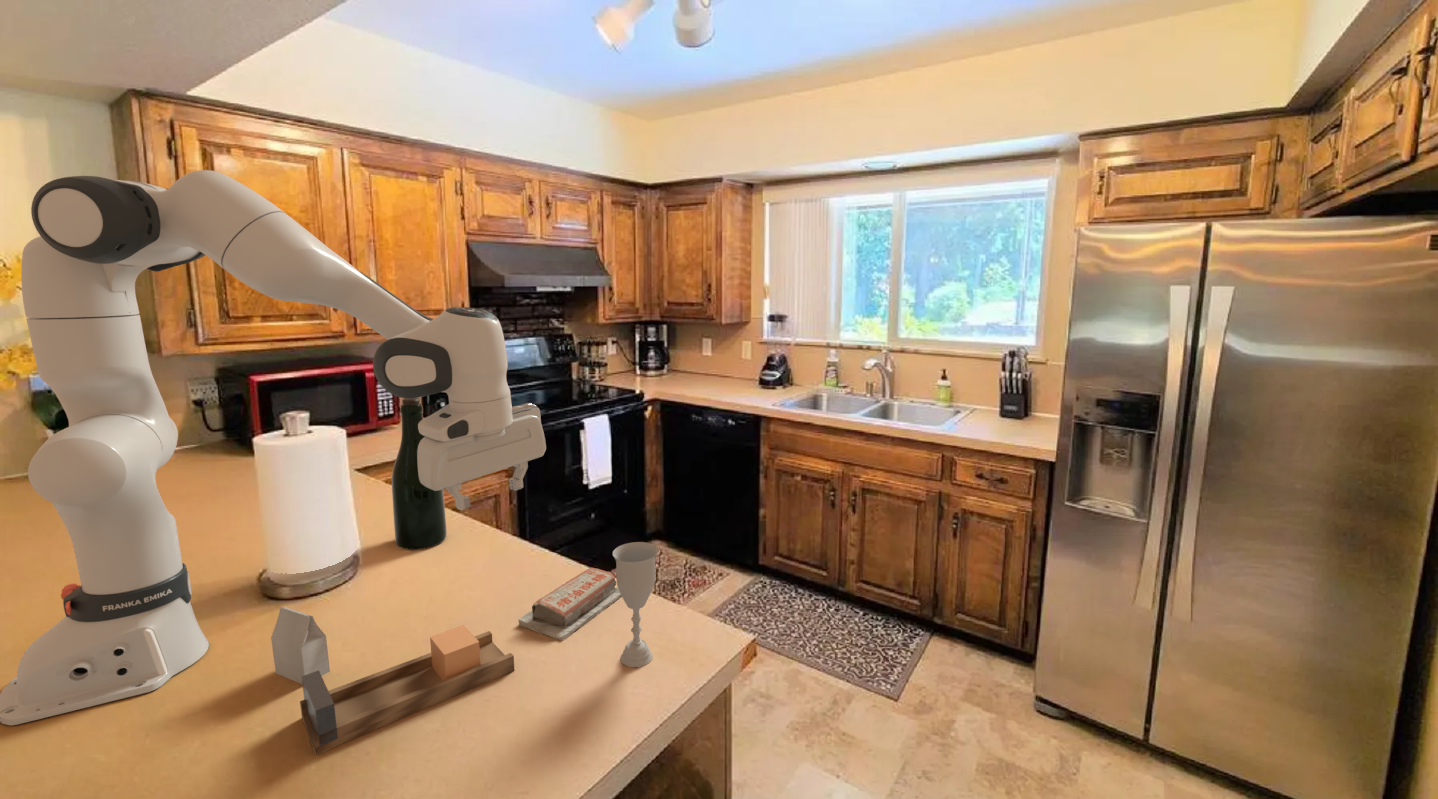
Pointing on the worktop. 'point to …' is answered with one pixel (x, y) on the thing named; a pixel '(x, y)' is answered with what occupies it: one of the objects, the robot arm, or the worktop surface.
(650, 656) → the chalice
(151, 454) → the robot arm
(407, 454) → the beer bottle
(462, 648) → the orange block
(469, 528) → the worktop surface
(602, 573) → the packaged product
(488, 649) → the track
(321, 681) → the end stop
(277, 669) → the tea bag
